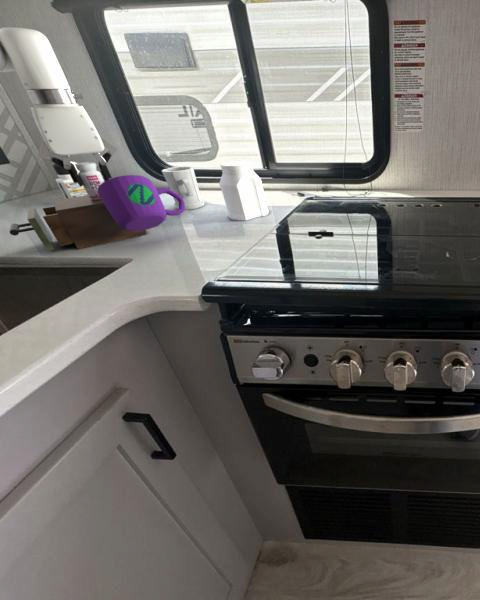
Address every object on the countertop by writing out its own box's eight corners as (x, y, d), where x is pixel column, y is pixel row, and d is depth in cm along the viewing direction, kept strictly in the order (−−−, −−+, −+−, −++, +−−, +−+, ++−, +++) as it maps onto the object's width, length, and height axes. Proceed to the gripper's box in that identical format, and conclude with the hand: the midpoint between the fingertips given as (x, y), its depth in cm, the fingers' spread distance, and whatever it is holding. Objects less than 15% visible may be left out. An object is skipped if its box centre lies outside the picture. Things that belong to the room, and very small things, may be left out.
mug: (124, 215, 74) (101, 174, 73) (112, 236, 81) (91, 199, 80) (200, 208, 88) (182, 173, 87) (185, 227, 95) (168, 195, 94)
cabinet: (77, 249, 81) (55, 210, 76) (74, 236, 89) (53, 200, 84) (147, 233, 90) (131, 198, 85) (138, 223, 97) (123, 189, 92)
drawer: (23, 256, 76) (0, 223, 72) (24, 243, 83) (3, 212, 79) (116, 236, 86) (102, 206, 82) (110, 225, 93) (96, 197, 89)
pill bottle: (98, 200, 83) (80, 165, 78) (85, 199, 84) (67, 164, 80) (117, 196, 87) (101, 161, 82) (105, 194, 88) (88, 161, 83)
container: (74, 204, 116) (53, 165, 109) (66, 201, 120) (45, 163, 113) (100, 199, 121) (82, 161, 114) (92, 196, 125) (73, 159, 118)
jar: (237, 222, 96) (222, 168, 88) (224, 215, 102) (208, 164, 94) (273, 213, 103) (262, 162, 95) (259, 207, 109) (247, 159, 101)
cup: (215, 203, 114) (203, 166, 108) (197, 211, 107) (183, 172, 100) (188, 202, 116) (175, 166, 109) (168, 210, 108) (153, 171, 102)
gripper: (99, 98, 81) (132, 176, 91) (0, 100, 71) (49, 186, 81) (103, 98, 76) (137, 180, 86) (-2, 100, 67) (50, 192, 76)
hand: (94, 182), depth 83 cm, fingers closed on pill bottle, 4 cm apart
